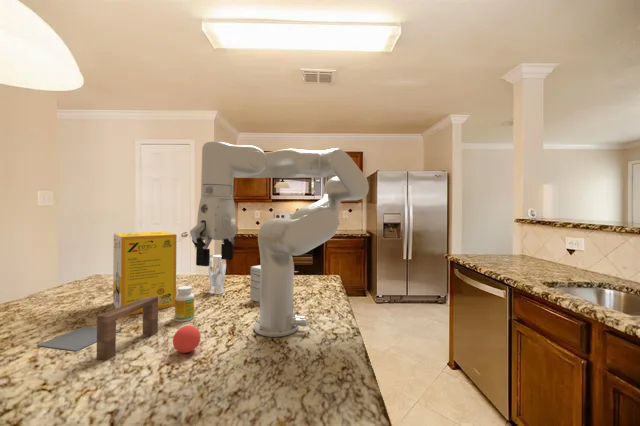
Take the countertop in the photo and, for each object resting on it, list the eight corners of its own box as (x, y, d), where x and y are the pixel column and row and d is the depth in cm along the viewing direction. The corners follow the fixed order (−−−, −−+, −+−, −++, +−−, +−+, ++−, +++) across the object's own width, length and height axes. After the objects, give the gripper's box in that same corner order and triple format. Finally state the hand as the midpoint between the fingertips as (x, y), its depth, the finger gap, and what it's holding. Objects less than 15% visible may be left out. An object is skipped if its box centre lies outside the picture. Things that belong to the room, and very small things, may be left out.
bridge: (157, 332, 80) (158, 297, 80) (107, 359, 65) (107, 316, 65) (148, 331, 80) (148, 296, 80) (96, 358, 66) (96, 315, 66)
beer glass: (208, 290, 121) (208, 254, 121) (225, 289, 123) (226, 254, 123) (207, 295, 114) (207, 257, 114) (225, 294, 116) (226, 256, 116)
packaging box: (113, 303, 103) (113, 233, 103) (163, 295, 114) (164, 231, 113) (119, 316, 91) (120, 236, 91) (175, 305, 102) (176, 234, 101)
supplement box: (264, 295, 116) (265, 263, 115) (277, 299, 111) (277, 266, 111) (249, 299, 110) (249, 266, 110) (262, 304, 105) (262, 269, 105)
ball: (205, 347, 72) (205, 322, 72) (189, 359, 66) (190, 333, 66) (184, 344, 73) (184, 320, 73) (166, 356, 67) (167, 330, 67)
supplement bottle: (186, 322, 87) (187, 290, 87) (170, 321, 88) (171, 289, 88) (197, 316, 92) (198, 285, 92) (182, 314, 93) (182, 284, 93)
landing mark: (120, 330, 81) (120, 330, 81) (76, 351, 69) (76, 350, 69) (85, 326, 83) (85, 325, 83) (36, 345, 71) (37, 344, 71)
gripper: (208, 190, 63) (206, 270, 63) (248, 195, 79) (247, 258, 79) (179, 190, 65) (177, 267, 65) (224, 195, 81) (223, 256, 81)
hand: (215, 262), depth 72 cm, fingers open, 9 cm apart
